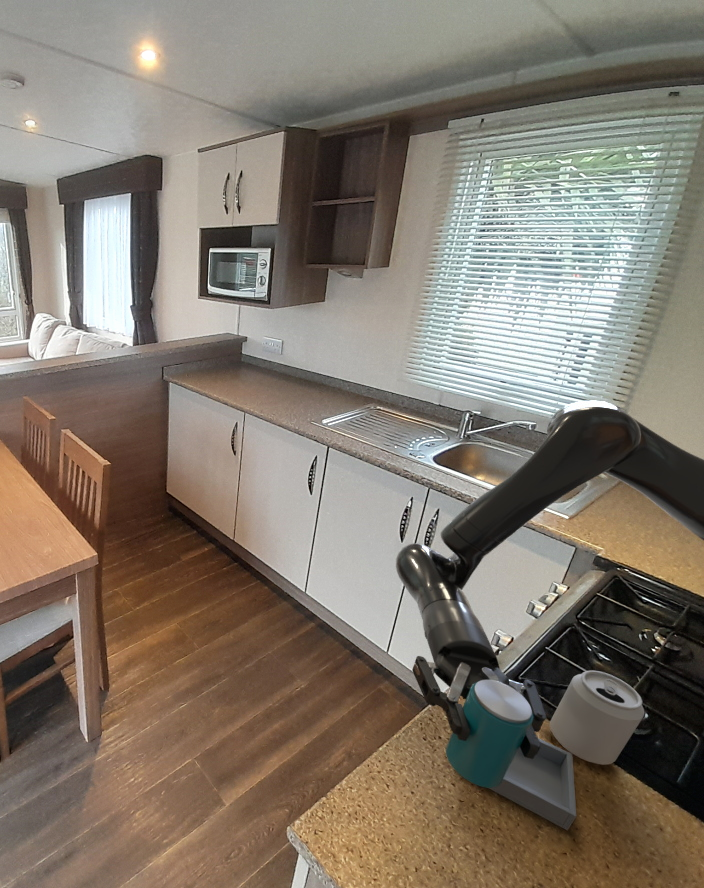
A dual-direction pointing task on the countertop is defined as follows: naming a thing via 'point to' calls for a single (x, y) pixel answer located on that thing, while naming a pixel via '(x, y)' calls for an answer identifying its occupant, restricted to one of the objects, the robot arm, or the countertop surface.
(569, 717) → the can
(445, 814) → the countertop surface
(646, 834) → the countertop surface
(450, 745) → the slim can
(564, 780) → the gray rectangular tray
